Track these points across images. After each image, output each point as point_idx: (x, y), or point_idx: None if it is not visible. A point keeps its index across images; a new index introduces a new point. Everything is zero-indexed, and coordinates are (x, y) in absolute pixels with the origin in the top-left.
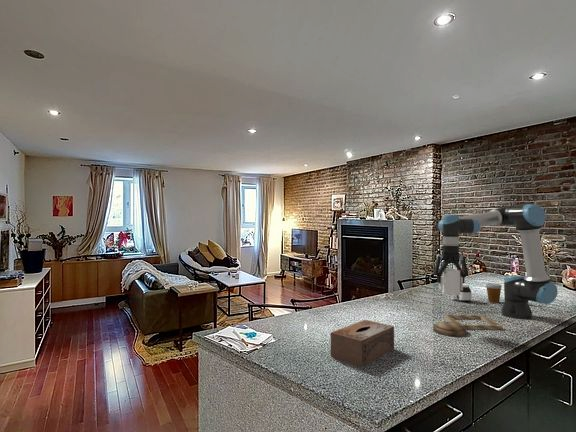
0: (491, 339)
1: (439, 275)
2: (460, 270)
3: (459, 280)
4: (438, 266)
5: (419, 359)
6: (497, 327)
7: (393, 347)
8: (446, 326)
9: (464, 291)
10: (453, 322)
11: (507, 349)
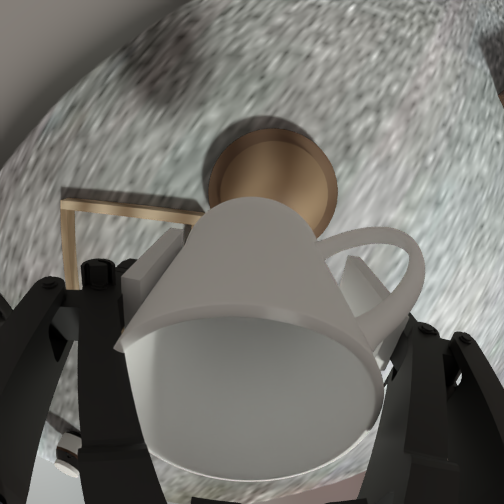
0: (169, 89)
1: (431, 330)
2: (107, 345)
3: (184, 253)
4: (499, 410)
5: (467, 22)
6: (78, 200)
7: (502, 93)
8: (300, 177)
9: (71, 453)
10: None
11: (189, 5)
